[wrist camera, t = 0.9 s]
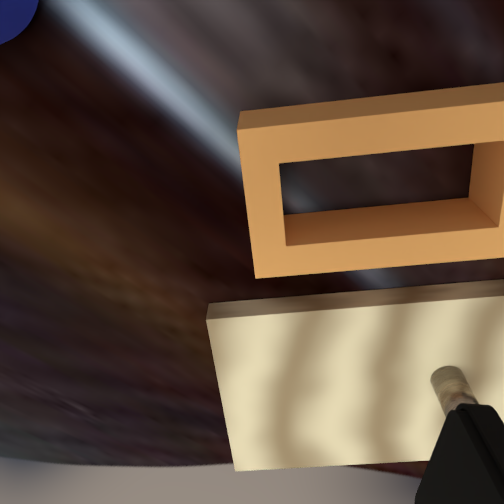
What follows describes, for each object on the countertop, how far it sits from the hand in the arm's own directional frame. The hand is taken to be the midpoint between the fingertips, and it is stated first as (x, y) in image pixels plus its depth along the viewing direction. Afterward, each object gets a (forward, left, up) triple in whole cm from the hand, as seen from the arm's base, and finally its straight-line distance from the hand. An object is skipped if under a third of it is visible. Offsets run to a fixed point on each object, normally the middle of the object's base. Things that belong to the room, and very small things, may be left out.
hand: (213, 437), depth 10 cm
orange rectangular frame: (-8, +3, -23) cm, 24 cm away
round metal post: (-13, +19, -21) cm, 31 cm away
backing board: (-9, +20, -23) cm, 31 cm away
